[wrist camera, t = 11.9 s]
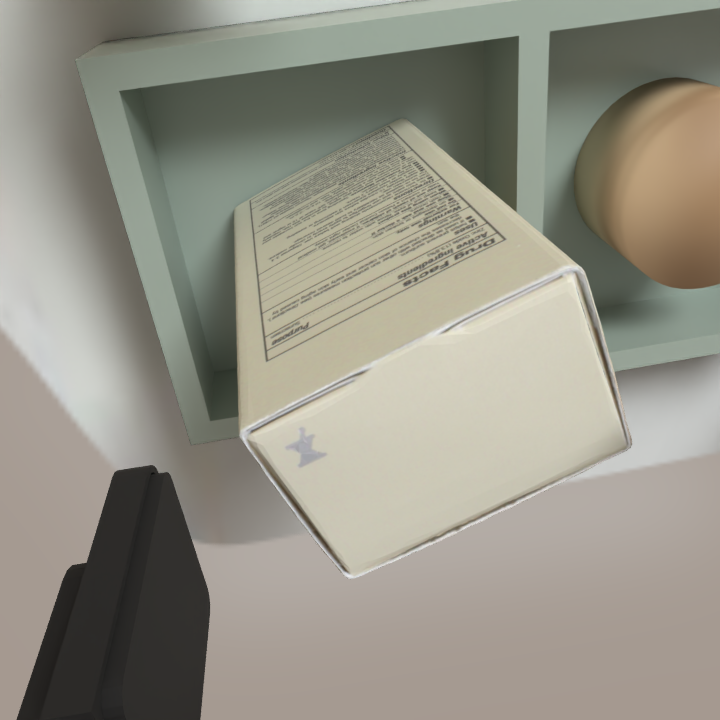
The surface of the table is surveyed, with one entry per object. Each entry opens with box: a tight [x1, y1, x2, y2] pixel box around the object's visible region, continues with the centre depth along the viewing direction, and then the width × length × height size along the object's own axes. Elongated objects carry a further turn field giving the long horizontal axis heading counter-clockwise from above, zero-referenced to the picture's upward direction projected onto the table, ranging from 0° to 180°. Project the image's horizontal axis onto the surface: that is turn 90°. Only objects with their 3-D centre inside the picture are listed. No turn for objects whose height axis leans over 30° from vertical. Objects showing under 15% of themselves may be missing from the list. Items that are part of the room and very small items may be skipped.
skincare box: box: [233, 118, 632, 579], centre depth 17 cm, size 6×4×12 cm
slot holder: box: [75, 0, 720, 445], centre depth 21 cm, size 22×12×4 cm, turn 96°
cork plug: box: [574, 77, 720, 289], centre depth 21 cm, size 6×6×4 cm
